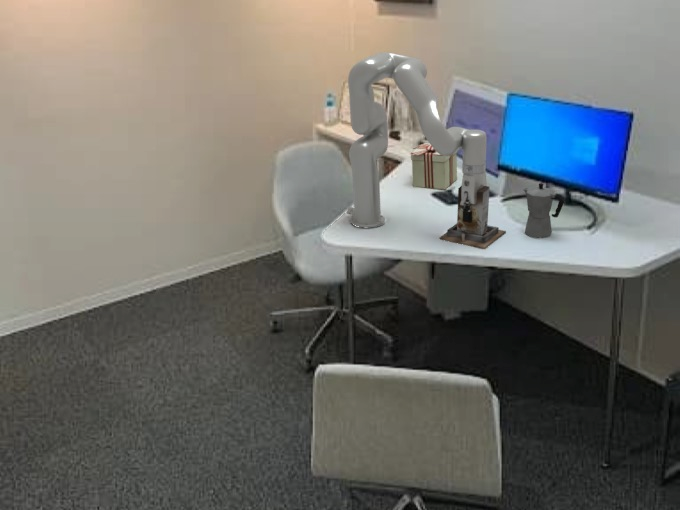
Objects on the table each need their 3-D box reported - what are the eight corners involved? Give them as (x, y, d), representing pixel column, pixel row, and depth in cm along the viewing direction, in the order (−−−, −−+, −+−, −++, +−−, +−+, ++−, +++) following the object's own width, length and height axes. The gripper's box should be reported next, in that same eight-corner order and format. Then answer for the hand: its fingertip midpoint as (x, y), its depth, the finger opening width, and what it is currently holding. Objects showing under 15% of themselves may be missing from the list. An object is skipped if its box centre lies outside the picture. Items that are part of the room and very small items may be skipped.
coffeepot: (513, 232, 249) (516, 183, 241) (529, 224, 254) (531, 176, 247) (553, 244, 238) (557, 192, 231) (568, 235, 244) (572, 185, 236)
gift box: (416, 175, 312) (415, 136, 304) (458, 178, 305) (458, 138, 297) (403, 188, 297) (402, 147, 290) (447, 191, 290) (447, 150, 283)
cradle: (439, 239, 247) (439, 230, 245) (461, 224, 258) (461, 215, 257) (484, 249, 237) (484, 240, 236) (505, 233, 249) (506, 224, 247)
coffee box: (455, 232, 247) (456, 187, 240) (463, 226, 252) (464, 182, 245) (481, 237, 242) (482, 191, 236) (488, 230, 247) (490, 185, 241)
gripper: (471, 177, 229) (470, 229, 237) (496, 162, 242) (494, 212, 249) (450, 173, 234) (450, 224, 241) (475, 159, 246) (474, 208, 253)
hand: (472, 217), depth 245 cm, fingers closed on coffee box, 6 cm apart
